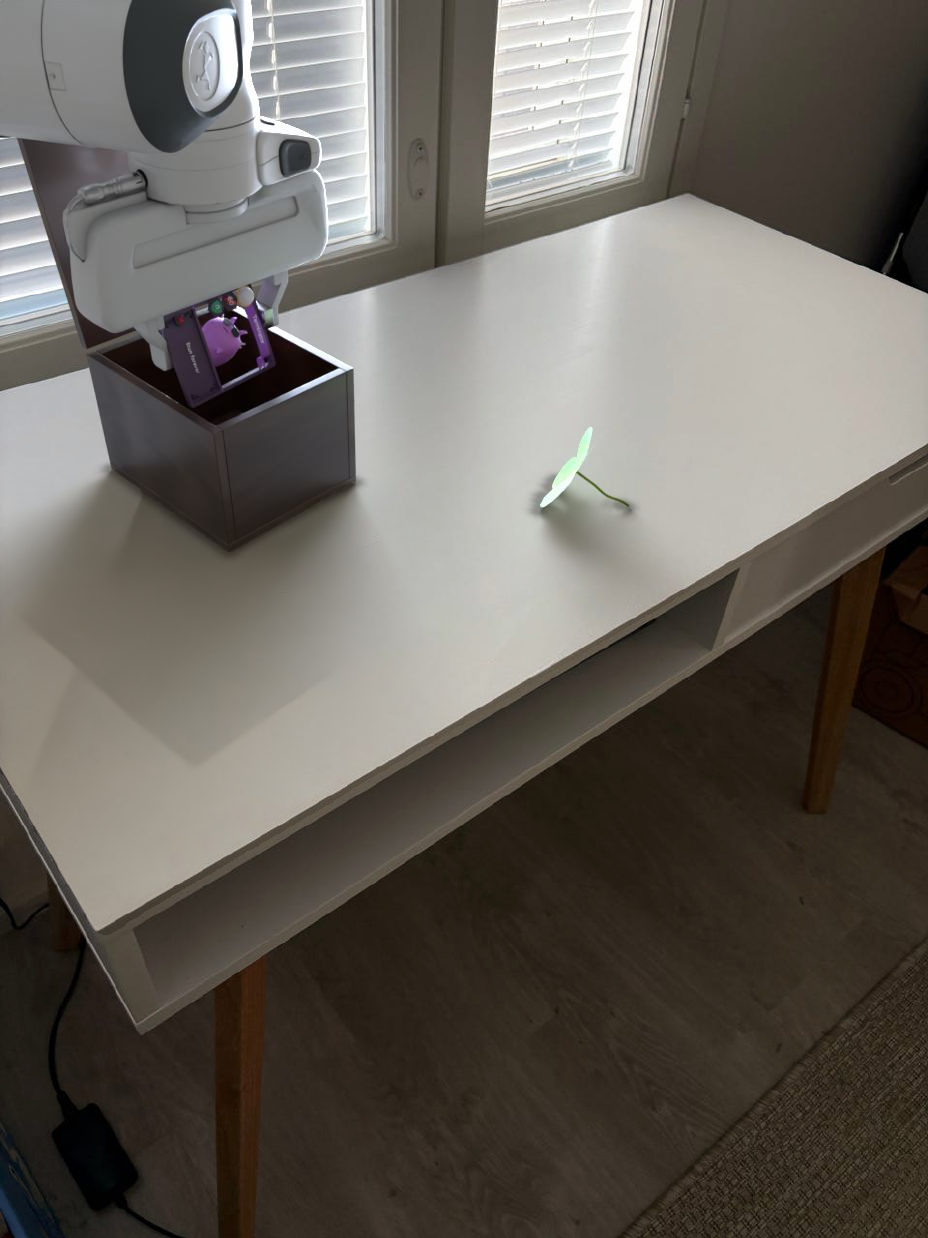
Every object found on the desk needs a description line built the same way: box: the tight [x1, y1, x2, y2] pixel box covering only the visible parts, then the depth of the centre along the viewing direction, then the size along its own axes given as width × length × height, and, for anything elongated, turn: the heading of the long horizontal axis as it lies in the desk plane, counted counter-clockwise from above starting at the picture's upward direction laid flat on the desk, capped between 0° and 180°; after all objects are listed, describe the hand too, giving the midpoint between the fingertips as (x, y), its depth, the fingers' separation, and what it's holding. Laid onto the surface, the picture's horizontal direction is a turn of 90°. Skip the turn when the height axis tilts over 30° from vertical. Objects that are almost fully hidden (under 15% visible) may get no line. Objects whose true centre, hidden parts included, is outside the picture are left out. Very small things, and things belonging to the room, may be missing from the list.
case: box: [85, 306, 357, 554], centre depth 82 cm, size 16×14×11 cm
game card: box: [161, 283, 276, 407], centre depth 77 cm, size 7×5×9 cm
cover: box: [16, 138, 222, 350], centre depth 77 cm, size 16×14×1 cm
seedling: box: [539, 426, 630, 508], centre depth 85 cm, size 7×8×7 cm
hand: (218, 344), depth 77 cm, fingers closed on game card, 8 cm apart
